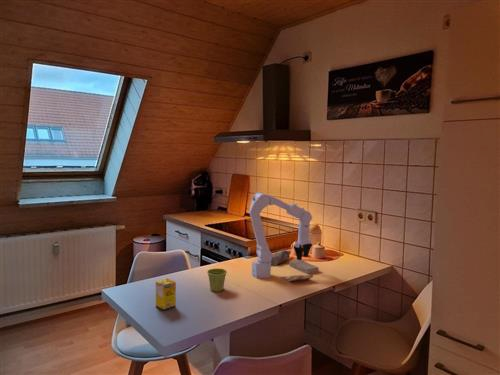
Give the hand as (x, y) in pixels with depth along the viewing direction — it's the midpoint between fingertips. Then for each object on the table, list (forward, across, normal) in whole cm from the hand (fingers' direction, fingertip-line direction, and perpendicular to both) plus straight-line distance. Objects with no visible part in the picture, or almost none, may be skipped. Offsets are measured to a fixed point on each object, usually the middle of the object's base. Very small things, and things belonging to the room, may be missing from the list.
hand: (302, 258), depth 200 cm
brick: (+10, +8, +3) cm, 13 cm away
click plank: (+8, -11, -4) cm, 14 cm away
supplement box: (+10, -72, +26) cm, 77 cm away
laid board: (+10, -8, +1) cm, 13 cm away
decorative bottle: (+10, +14, +20) cm, 27 cm away
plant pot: (+10, -43, +22) cm, 50 cm away
